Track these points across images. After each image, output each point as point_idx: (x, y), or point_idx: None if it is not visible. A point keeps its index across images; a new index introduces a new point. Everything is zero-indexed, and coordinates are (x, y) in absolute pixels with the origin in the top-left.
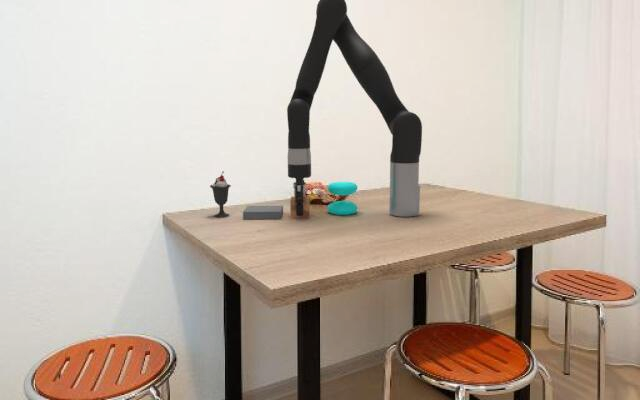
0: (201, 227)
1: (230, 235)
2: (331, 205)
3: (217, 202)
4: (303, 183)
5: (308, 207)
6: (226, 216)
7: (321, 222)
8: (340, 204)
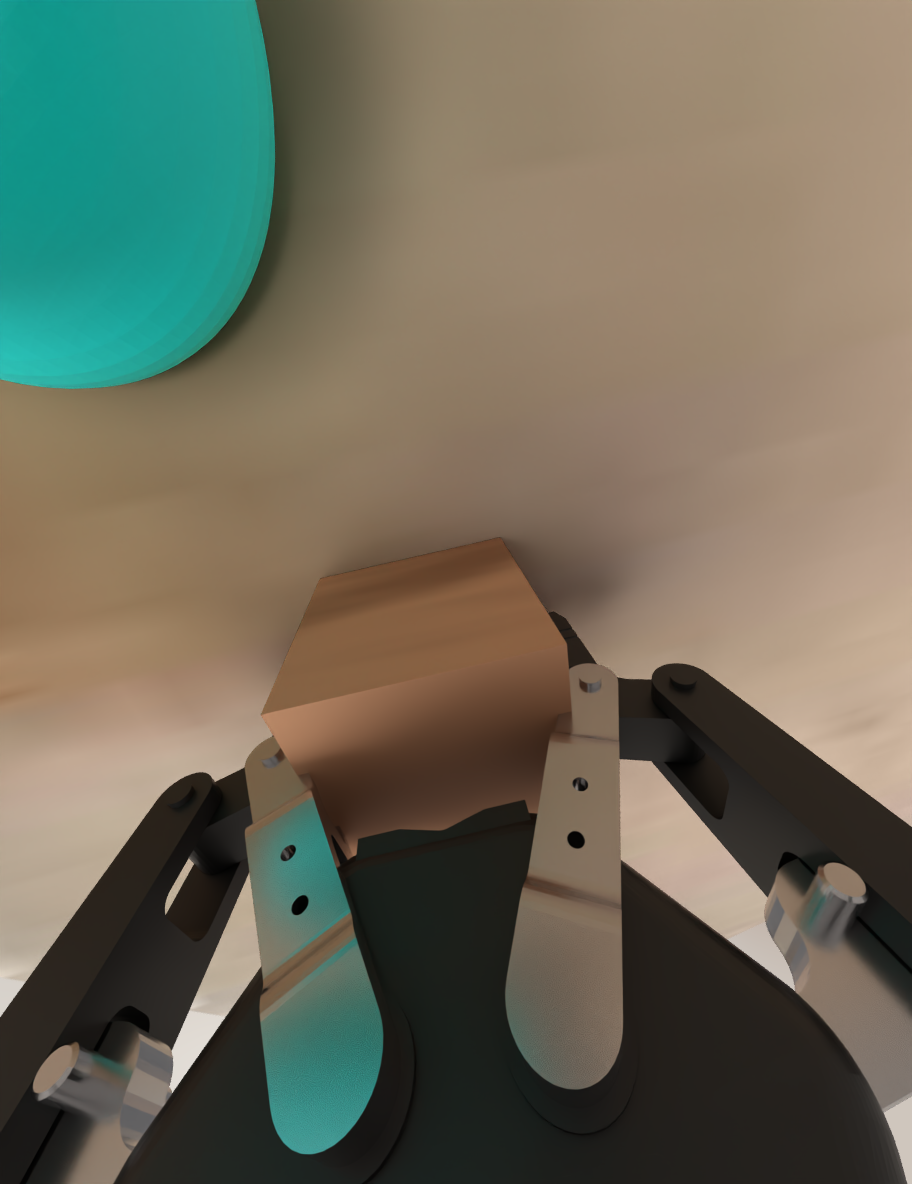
0: (717, 915)
1: (902, 794)
2: (142, 278)
3: None
4: (598, 1101)
5: (532, 592)
6: None
7: (706, 359)
8: None
